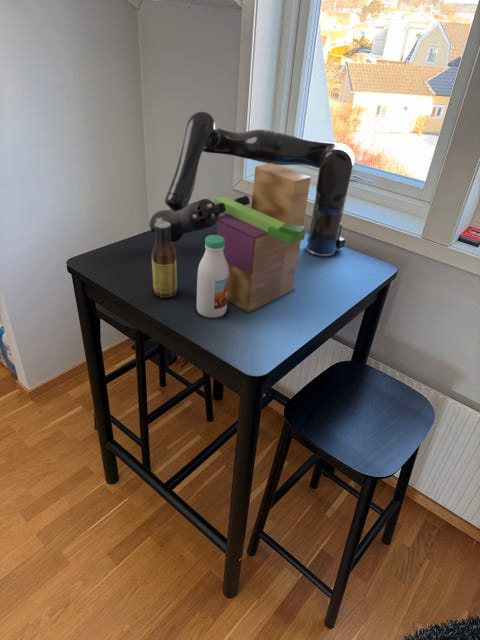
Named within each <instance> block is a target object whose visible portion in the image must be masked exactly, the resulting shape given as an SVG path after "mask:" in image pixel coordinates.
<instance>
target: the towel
mask: <svg viewBox="0 0 480 640" xmlns="http://www.w3.org/2000/svg"><path fill="white" fill-rule="evenodd" d="M216 227H217V228H216V235H219V236H222V237H223V238H224V239H225V245H224V249H223V252H224V256H225V258H226V261H227V263H229V264H231V265H233V266H235V267H237V268H238V269H240V270H242V271H244V272H246V273H248V274H249V275H251V272H252V262H253V252H254V242H255V238H257V237H260V236H263V235H266V234H267V233H268V232H266V231H264V230H262V229H260V228H257V227H255V226H253V225H251V224H249V223H247V222H244V221H242V220H240V219H238V218H236V217H233V216H231V215H229V216H225V217H222V218H218V221H217V226H216Z"/></svg>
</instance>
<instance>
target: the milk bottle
mask: <svg viewBox="0 0 480 640" xmlns="http://www.w3.org/2000/svg"><path fill="white" fill-rule="evenodd" d="M224 245H225V239H224V238H223V237H222V236H219V235H217V234H210V235H207V236H206V237H205V238H204V248H205V251H204V253H203V255H202V257H201V259H200V262H199V264H198V267H197V277H196V311H197V313H198V314H199V315H200V316H203V317H205V318H208V319H209V318H210V319H216V318H219V317H222V316H224V315H225V314H226V312H227V309H228V300H227V298H228V283H229V267H228V263H227V261H226V258H225V256H224V252H223V249H224Z"/></svg>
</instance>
